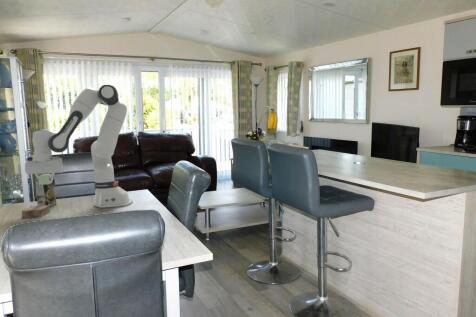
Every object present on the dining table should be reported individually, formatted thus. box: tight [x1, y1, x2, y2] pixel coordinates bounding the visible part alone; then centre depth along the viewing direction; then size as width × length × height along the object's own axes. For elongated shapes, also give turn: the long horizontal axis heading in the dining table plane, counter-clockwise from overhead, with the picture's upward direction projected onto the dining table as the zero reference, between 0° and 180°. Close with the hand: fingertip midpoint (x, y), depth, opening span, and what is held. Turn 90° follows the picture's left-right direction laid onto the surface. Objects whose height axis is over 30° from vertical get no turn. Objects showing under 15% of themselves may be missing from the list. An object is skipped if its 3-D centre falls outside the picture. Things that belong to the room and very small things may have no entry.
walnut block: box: [21, 205, 50, 218], centre depth 202 cm, size 10×10×4 cm
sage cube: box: [39, 173, 52, 185], centre depth 210 cm, size 5×5×5 cm
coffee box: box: [35, 178, 57, 208], centre depth 221 cm, size 9×6×16 cm
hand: (45, 180), depth 210 cm, fingers closed on sage cube, 5 cm apart
